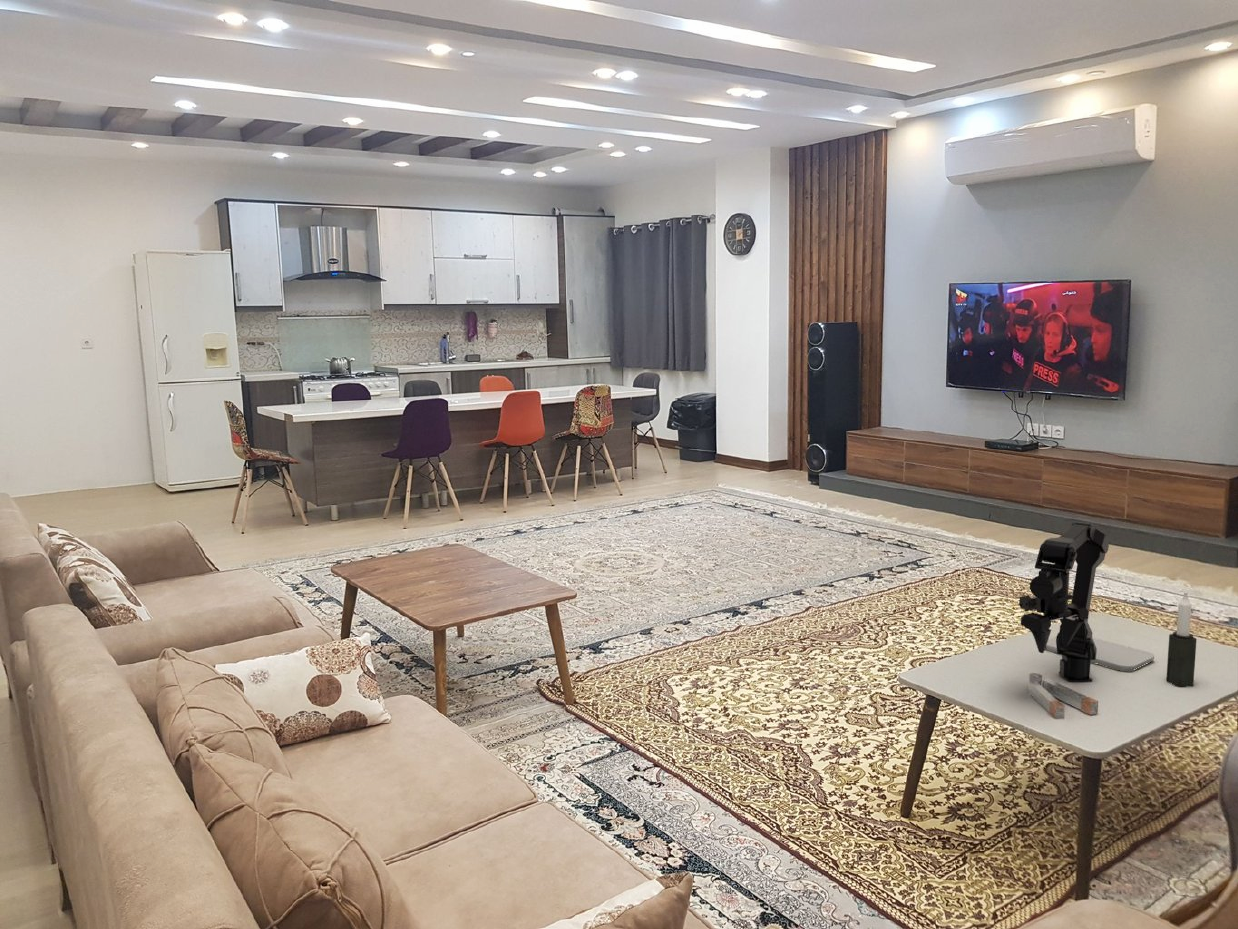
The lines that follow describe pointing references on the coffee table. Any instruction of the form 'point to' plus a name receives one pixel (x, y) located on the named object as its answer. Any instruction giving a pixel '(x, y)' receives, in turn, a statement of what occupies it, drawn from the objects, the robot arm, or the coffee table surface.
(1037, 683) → the base
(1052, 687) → the tongs arm
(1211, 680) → the coffee table surface
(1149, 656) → the tablet
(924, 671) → the coffee table surface
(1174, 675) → the candle
